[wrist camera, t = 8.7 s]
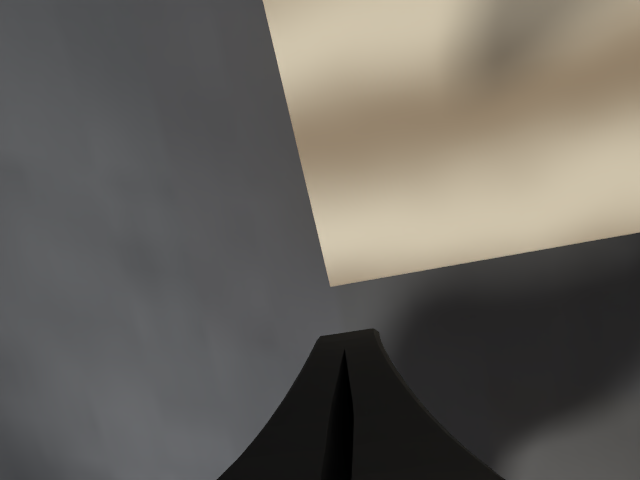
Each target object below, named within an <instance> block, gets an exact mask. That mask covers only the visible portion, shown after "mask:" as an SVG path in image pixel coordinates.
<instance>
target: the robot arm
mask: <svg viewBox="0 0 640 480" xmlns="http://www.w3.org/2000/svg"><path fill="white" fill-rule="evenodd" d="M217 480H505V479H504V478H502V477H501V476H499V475H498V474H497V473H496V472H494V471H493V470H492V469H491V468H489V467H488V466H487V465H486V464H484V463H483V462H482V461H481V460H479V459H478V458H477V457H476V456H475V455H473V454H472V453H471V452H470V451H468V450H467V449H466V448H465V447H464V446H463V445H461V444H460V443H459V442H458V441H457V440H456V439H455V438H454V437H453V436H452V435H451V434H450V433H449V432H448V431H447V430H446V429H445V428H444V427H443V426H442V425H441V424H440V423H439V422H438V421H437V420H436V419H435V418H434V417H433V416H432V415H431V414H430V413H429V411H428V410H427V409H426V408H425V407H424V406H423V404H422V403H421V402H420V401H419V400H418V398H417V397H416V396H415V395H414V393H413V392H412V391H411V389H410V388H409V387H408V386H407V384H406V383H405V381H404V380H403V378H402V377H401V375H400V374H399V373H398V371H397V370H396V368H395V367H394V365H393V363H392V362H391V360H390V358H389V356H388V355H387V353H386V351H385V349H384V347H383V344H382V342H381V339H380V336H379V332H378V331H376V330H375V329H373V328H372V329H366V330H359V331H353V332H346V333H339V334H333V335H326V336H320V337H319V339H318V340H317V341H316V343H315V345H314V347H313V349H312V351H311V353H310V355H309V357H308V359H307V361H306V363H305V364H304V366H303V368H302V370H301V372H300V373H299V375H298V377H297V378H296V380H295V382H294V383H293V385H292V387H291V388H290V390H289V392H288V393H287V395H286V396H285V398H284V399H283V401H282V402H281V404H280V405H279V407H278V408H277V410H276V411H275V412H274V414H273V415H272V417H271V418H270V420H269V421H268V423H267V424H266V425H265V427H264V428H263V429H262V430H261V432H260V433H259V434H258V436H257V437H256V438H255V439H254V441H253V442H252V443H251V444H250V445H249V446H248V448H247V449H246V450H245V451H244V452H243V453H242V455H241V456H240V457H239V458H238V459H237V460H236V461H235V462H234V463H233V464H232V465H231V466H230V467H229V468H228V469H227V470H226V471H225V472H224V473H223V474H222V475H221V476H220V477H219V478H218V479H217Z"/></svg>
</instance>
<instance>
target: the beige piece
mask: <svg viewBox="0 0 640 480" xmlns="http://www.w3.org/2000/svg"><path fill="white" fill-rule="evenodd" d="M263 3H264V7H265V12H266V16H267V20H268V24H269V29H270V33H271V37H272V41H273V45H274V50H275V54H276V58H277V62H278V67H279V71H280V75H281V79H282V84H283V88H284V92H285V96H286V101H287V105H288V109H289V113H290V117H291V122H292V126H293V130H294V134H295V139H296V143H297V147H298V151H299V156H300V160H301V164H302V168H303V172H304V177H305V181H306V185H307V189H308V194H309V198H310V202H311V206H312V211H313V215H314V219H315V223H316V228H317V232H318V236H319V240H320V244H321V249H322V253H323V257H324V261H325V266H326V270H327V274H328V278H329V283H330V287H331V286H337V285H343V284H349V283H354V282H360V281H366V280H371V279H377V278H383V277H388V276H394V275H400V274H405V273H411V272H417V271H422V270H428V269H434V268H440V267H445V266H451V265H457V264H462V263H468V262H474V261H479V260H485V259H491V258H496V257H502V256H508V255H514V254H519V253H525V252H531V251H536V250H542V249H548V248H553V247H559V246H565V245H570V244H576V243H582V242H587V241H593V240H599V239H605V238H610V237H616V236H622V235H627V234H633V233H639V232H640V0H263Z"/></svg>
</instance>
